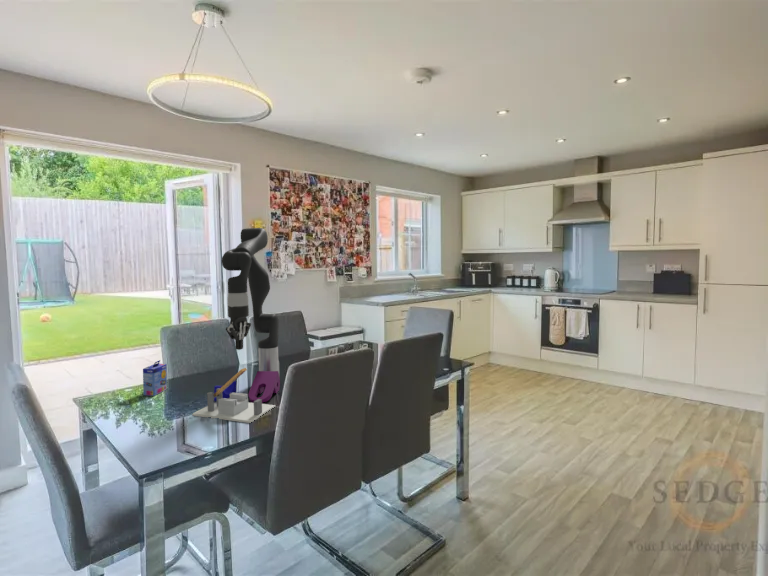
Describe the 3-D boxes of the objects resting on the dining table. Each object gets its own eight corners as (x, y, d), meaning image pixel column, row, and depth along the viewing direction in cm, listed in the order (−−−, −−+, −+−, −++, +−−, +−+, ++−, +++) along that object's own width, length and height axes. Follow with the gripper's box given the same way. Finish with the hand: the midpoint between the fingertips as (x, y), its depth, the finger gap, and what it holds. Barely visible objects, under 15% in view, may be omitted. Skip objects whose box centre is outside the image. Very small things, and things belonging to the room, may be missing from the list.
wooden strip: (212, 399, 166) (210, 396, 166) (217, 396, 169) (215, 393, 170) (242, 372, 161) (240, 369, 161) (247, 369, 164) (245, 367, 164)
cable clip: (227, 393, 188) (227, 380, 188) (236, 394, 187) (236, 380, 188) (210, 400, 177) (211, 386, 177) (220, 401, 176) (220, 386, 176)
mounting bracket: (271, 415, 179) (280, 385, 195) (268, 400, 175) (278, 371, 190) (248, 414, 179) (260, 385, 195) (245, 400, 175) (257, 371, 191)
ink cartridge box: (154, 396, 185) (153, 363, 184) (142, 396, 186) (141, 363, 185) (168, 389, 195) (166, 358, 194) (156, 389, 196) (155, 358, 195)
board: (221, 401, 179) (220, 382, 178) (275, 407, 171) (275, 387, 171) (192, 415, 163) (191, 395, 162) (250, 423, 155) (250, 401, 155)
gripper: (240, 302, 169) (241, 345, 170) (218, 306, 156) (219, 352, 157) (256, 302, 167) (257, 346, 168) (235, 306, 154) (237, 353, 155)
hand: (239, 349), depth 163 cm, fingers closed
